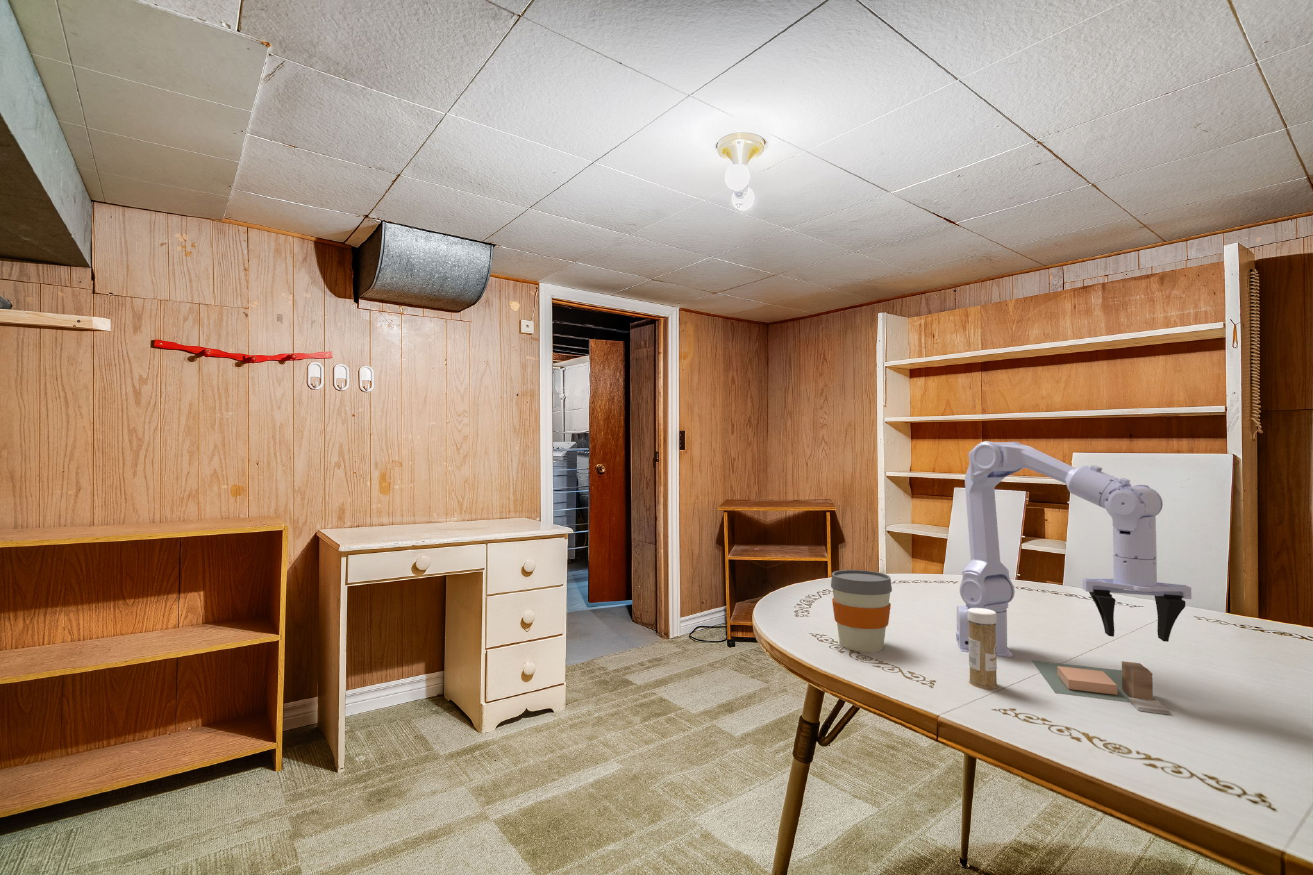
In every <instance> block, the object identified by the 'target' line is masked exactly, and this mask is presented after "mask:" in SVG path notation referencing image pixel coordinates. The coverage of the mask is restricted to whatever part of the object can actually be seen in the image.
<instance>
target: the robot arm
mask: <svg viewBox="0 0 1313 875" xmlns="http://www.w3.org/2000/svg"><path fill="white" fill-rule="evenodd" d="M968 463H969V464H968V467H967V470H966V473H965V476H964V488H965V489H964V491H965V501H966V503H965V504H966V516H967V528H968V541H969V556H970V561H969V562H968V564H967V565H966V566H965V568H964V569H962V574H961V575H962V580H961V583H959V584H960V585H959V593H960V597H961V599H962V601H963V602H964V603H965V605H957V606H956V632H955V639H956V643H957V646H958V648H959V651H960V652H964V653H969V622H968V621H969V620H968V609H970V608H984V609H989V610H993V611H995V612H996V614H997V623H996V626H995V627H996V656H999V657H1009V658H1012V657H1013V656H1014V655H1013V653H1012V652H1011V650H1010V649H1009V647H1008V608H1009V603H1010V602H1012V600H1013V599H1014V597H1015V593H1016V591H1015V586H1014V584H1013V582H1012V580H1011V578H1010V574H1009V573H1010V571H1009V569H1008V568H1007V567H1006V566H1005V565H1004V564H1003V563H1002V561H1001V554H1000V553H1001V552H1000V542H999V530H998V529H999V528H998V519H997V518H998V517H997V516H998V515H997V507H996V506H997V503H996V493H995V490H996V489H995V487H996V486H997V485H999V483H1001V482H1002V481H1003V480H1004V479H1005V478H1007V477H1009V476H1011V475H1013V474H1015V473H1017V472H1020V471H1022V470H1023V469H1027V470H1028V469H1029V470H1031V471H1033V472H1036V473H1038V474H1041V475H1044V476H1045V477H1048V478H1051V479H1054V480H1056V481H1058V482H1061V483H1063V484H1066V488H1067V490H1068V492H1069V493H1070V494H1072V495H1074V496H1076V497H1078V498H1080V499H1082V500H1086V502H1089V503H1091V504H1093V505H1096V506H1098V507H1100V508H1102V509H1105V511H1106V513H1107V514H1108V515H1109V516H1110V517H1111V521H1112V543H1113V544H1112V545H1113V546H1112V548H1113V549H1112V550H1113V554H1112V555H1113V556H1112V557H1113V578H1085V577H1084V578H1082V590H1083V591H1085V592H1087V593H1088V592H1089V596H1090V597H1091V599H1092V601H1093V602H1094V604H1095V607H1096V608H1097V610H1098V613H1099V615H1100V618H1101V621H1102V625H1103V628H1104V634H1106V635H1107V636H1108V637H1112V638H1113V637H1115V622H1114V618H1115V615H1114V614H1115V605H1116V601H1117V600H1116V598H1114V597H1113V594H1128V595H1142V596H1154V600H1155V606H1156V614H1157V628H1156V629H1157V630H1156V631H1157V637H1158V638H1157V639H1159V640H1161V641H1162V642H1167V643H1168V642H1169V641H1170V636H1171V632H1172V630H1173V627H1174V625H1175V623H1176V620H1177V619H1178V617H1179V616H1180V614H1181V613H1182V611H1183V610H1184V609H1185V608H1186V601H1185V600H1186V599H1187V600H1192V587H1191V586H1189V585H1187V584H1176V583H1167V582H1160V581H1159V582H1158V577H1157V576H1158V573H1157V568H1158V567H1157V565H1158V563H1157V561H1158V560H1157V528H1156V527H1157V525H1156V523H1157V522H1156V521H1157V520H1156V519H1157V518H1156V516H1158V515H1159V514H1160V513H1161V511H1162V510H1163V505H1164V503H1163V498H1162V496H1161V494H1159V492H1157V491H1156V490H1155V489H1153V488H1151V487H1150V486H1149V485H1146V484H1136V485H1132V484H1131V483H1130V482H1131V480H1130V479H1129V478H1126V477H1121V478H1119V477H1116V476H1114V475H1111V474H1109V473H1107V472H1104V471H1102V470H1103V467H1100V466H1099V465H1082V466H1080V467H1073V465H1070V464H1068V463H1065V462H1064V461H1061V460H1059V459H1057V458H1054V457H1053V456H1050V455H1049V454H1047V453H1044V452H1043V451H1040V450H1038V449H1036V448H1034V447H1032V446H1030V445H1026V444H1022V443H1021V442H1018V441H1010V442H1009V441H1008V442H1006V441H1004V442H999V441H997V442H996V441H995V442H994V441H988V440H987V441H982V442H979V443H978V444H976V445H975V446H974V447H973V448H972V449H971V450H970V451H969V452H968ZM1111 593H1112V594H1111ZM1184 599H1185V600H1184Z"/></svg>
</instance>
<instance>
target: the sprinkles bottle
mask: <svg viewBox="0 0 1313 875" xmlns="http://www.w3.org/2000/svg"><path fill="white" fill-rule="evenodd" d="M968 620H969V621H968V622H969V652H968V666H969V679H968V683H969V684H970V685H971V686H973V687H976V688H979V689H985V690H994V689H997V688H998V682H997V676H998V675H997V669H998V667H997V663H998V662H997V659H998V658H997V655H996V627H995V626H996V623H997V614H996V612H995V611H993V610H989V609H984V608H970V609H968Z"/></svg>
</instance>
